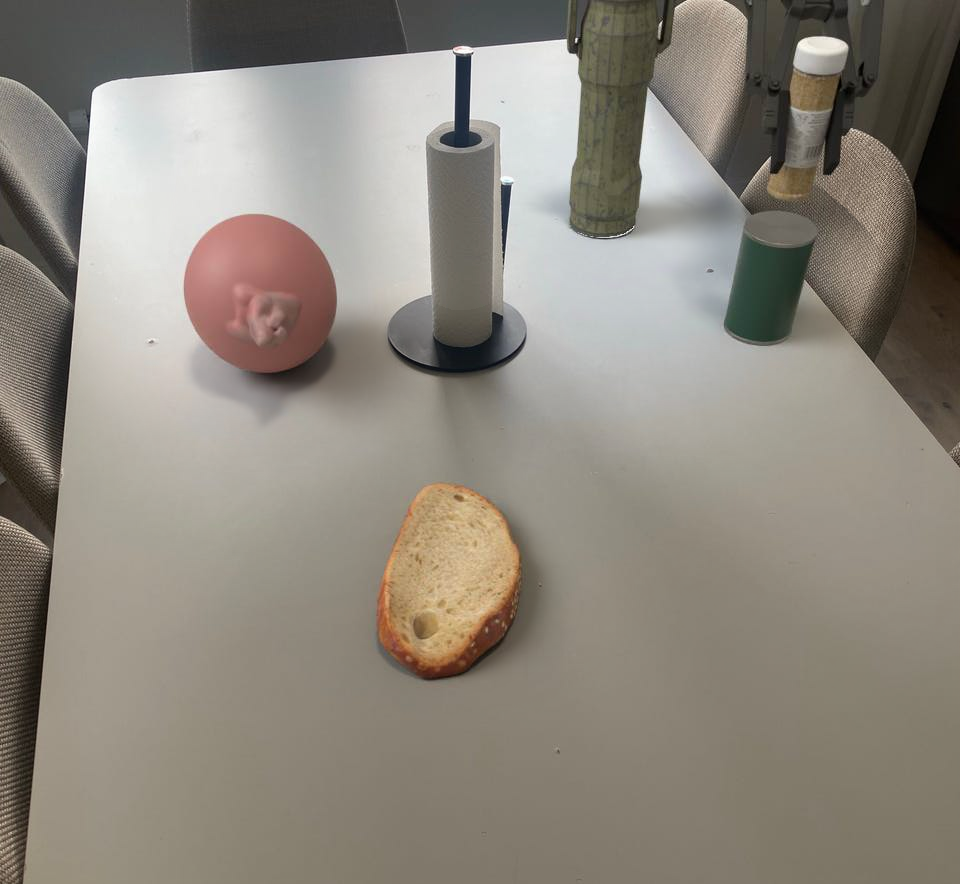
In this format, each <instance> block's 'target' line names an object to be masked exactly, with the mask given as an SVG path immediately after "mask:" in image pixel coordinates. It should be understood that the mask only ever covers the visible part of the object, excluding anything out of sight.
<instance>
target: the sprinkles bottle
mask: <svg viewBox="0 0 960 884" xmlns="http://www.w3.org/2000/svg"><path fill="white" fill-rule="evenodd" d="M847 54H848V45H847V44H846V43H845V42H844V41H842V40H839V39H836V38H831V37H827V36H820V35H819V36H809V37H805V38H803V39H801V40H799V41H798V43H797V45H796V49H795V53H794V56H793V57H794V58H793V62H792V65H793V69H792V76H791V81H790V86H789V89H788V90H790V94H789V109H788V124H787V139H786V154H785V163H784V164H783V166H782V168H781V169H780V171H779V173H778V174H769V175H770V176H769V180H768V182H767V184H766V190H767V193H768V194H769V195H770V196H772V197H773V198H776V199H778V200H781V201H786V202H799V201H800V202H801V201H803V200H806V199H808V198H809V197H810V196H811V195H812V193H813V184H814V180H815V176H816V172H817V169H818V166H819V163H820V161H821V157H822V153H823V149H824V147H825V138H826V134H827V130H828V126H829V122H830V118H831V114H832V110H833V102H834V99H835V95H836V90H837V86H838V82H839V78H840V75H841V74H842V70H843V69H844V66H845V63H846V58H847Z"/></svg>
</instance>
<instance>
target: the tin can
mask: <svg viewBox="0 0 960 884" xmlns="http://www.w3.org/2000/svg"><path fill="white" fill-rule="evenodd" d="M818 232H819V230H818V226H817V225H816V223H814V221H812V220H811V219H809V218H808V217H806V216H804V215H801V214H798V213H794V212H790V211H785V210H766V211H760V212H755V213H754V214H751V215H749V216H748V217H747V218H746V219H745V220H744V224H743V231H742V235H741V240H740V244H739V249H738V254H737V260H736V263H735V269H734V274H733V279H732V283H731V287H730V292H729V298H728V303H727V307H726V312H725V316H724V320H723V328H724V330H725V332H726V333H727V334H728V335H729V336H730V337H732V338H734V339H735V340H737V341H740V342H742V343H745V344H748V345H749V344H750V345H754V346H771V345H777V344H781V343H782V342H784V341H786V340H787V339H788V338H790V337H791V333H792V330H793V325H794V322H795V317H796V314H797V310H798V306H799V303H800V298H801V295H802V292H803V287H804V284H805V280H806V276H807V272H808V269H809V265H810V261H811V257H812V255H813V250H814V247H815V242H816V240H817V237H818Z"/></svg>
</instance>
